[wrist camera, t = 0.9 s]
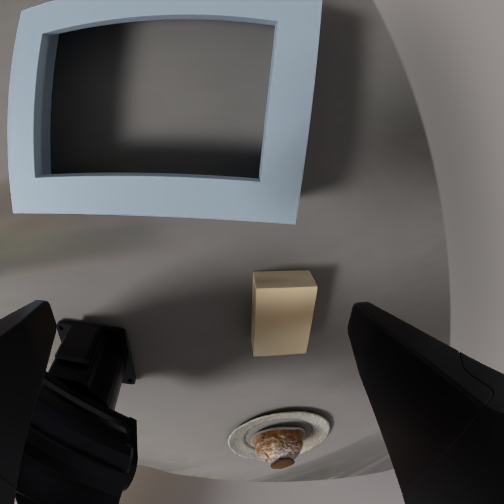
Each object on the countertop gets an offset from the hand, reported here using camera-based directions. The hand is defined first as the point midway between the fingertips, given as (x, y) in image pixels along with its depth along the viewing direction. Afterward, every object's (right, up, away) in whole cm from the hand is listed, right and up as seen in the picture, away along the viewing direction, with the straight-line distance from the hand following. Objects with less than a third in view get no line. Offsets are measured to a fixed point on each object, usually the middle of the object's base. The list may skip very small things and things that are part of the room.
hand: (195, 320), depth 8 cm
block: (+4, -2, +15) cm, 15 cm away
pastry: (+5, -19, +24) cm, 31 cm away
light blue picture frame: (-4, +11, +8) cm, 14 cm away
